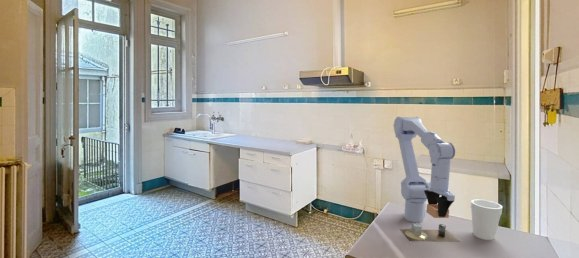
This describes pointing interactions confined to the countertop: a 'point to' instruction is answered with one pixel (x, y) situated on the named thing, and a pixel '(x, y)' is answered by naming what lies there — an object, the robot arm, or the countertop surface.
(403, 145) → the robot arm
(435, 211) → the collar
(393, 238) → the countertop surface
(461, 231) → the countertop surface
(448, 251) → the countertop surface
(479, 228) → the foam cup
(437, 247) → the countertop surface
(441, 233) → the stand rod
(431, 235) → the jig board
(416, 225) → the hub
